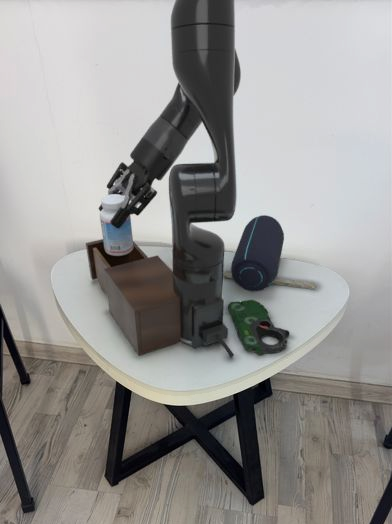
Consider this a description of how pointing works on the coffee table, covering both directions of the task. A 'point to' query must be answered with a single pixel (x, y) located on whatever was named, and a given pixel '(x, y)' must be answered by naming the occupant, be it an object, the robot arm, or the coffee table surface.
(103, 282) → the drawer
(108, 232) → the pill bottle
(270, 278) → the portable speaker
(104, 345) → the coffee table surface
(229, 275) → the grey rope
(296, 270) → the coffee table surface
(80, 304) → the coffee table surface
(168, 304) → the cabinet
